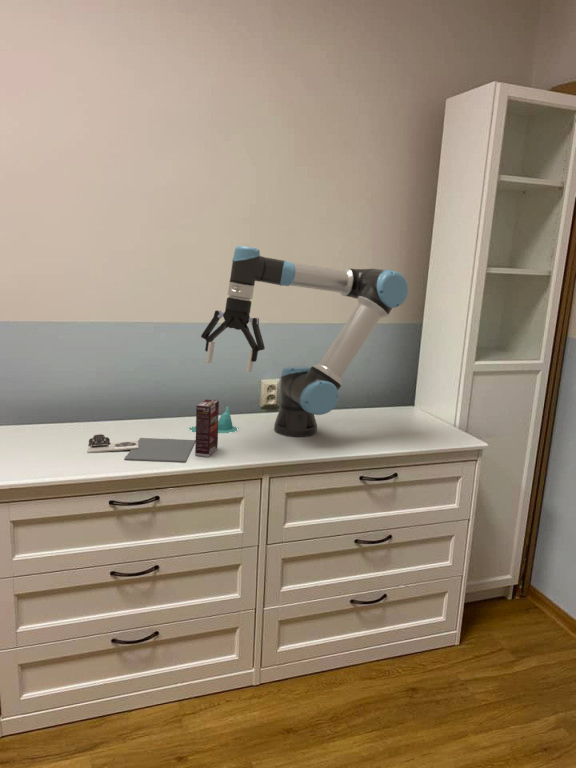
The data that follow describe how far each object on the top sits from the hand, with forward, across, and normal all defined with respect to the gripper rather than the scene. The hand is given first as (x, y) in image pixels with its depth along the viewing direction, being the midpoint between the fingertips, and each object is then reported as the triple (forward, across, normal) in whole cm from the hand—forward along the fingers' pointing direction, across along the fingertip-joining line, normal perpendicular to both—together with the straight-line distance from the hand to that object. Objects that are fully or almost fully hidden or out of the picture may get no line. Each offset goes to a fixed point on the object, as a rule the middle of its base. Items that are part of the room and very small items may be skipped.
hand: (228, 367), depth 186 cm
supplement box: (+27, -2, -3) cm, 28 cm away
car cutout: (+31, -29, -12) cm, 44 cm away
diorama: (+27, -10, +21) cm, 35 cm away
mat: (+29, -15, -7) cm, 33 cm away
